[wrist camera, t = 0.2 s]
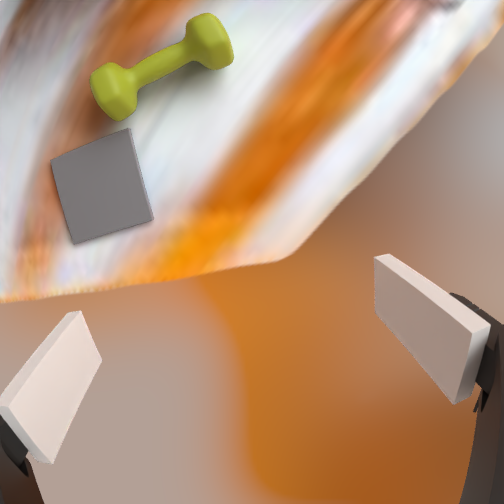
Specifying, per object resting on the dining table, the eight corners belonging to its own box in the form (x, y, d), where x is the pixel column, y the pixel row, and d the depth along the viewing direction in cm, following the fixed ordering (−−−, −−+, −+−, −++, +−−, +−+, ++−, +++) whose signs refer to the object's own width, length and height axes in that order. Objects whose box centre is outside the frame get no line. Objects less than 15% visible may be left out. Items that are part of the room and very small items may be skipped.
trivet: (53, 160, 35) (50, 160, 34) (130, 128, 35) (127, 128, 34) (77, 242, 38) (73, 244, 37) (154, 218, 38) (152, 220, 37)
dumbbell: (121, 129, 35) (100, 123, 28) (99, 80, 33) (76, 67, 26) (238, 70, 34) (241, 51, 27) (213, 22, 32) (211, -3, 25)
